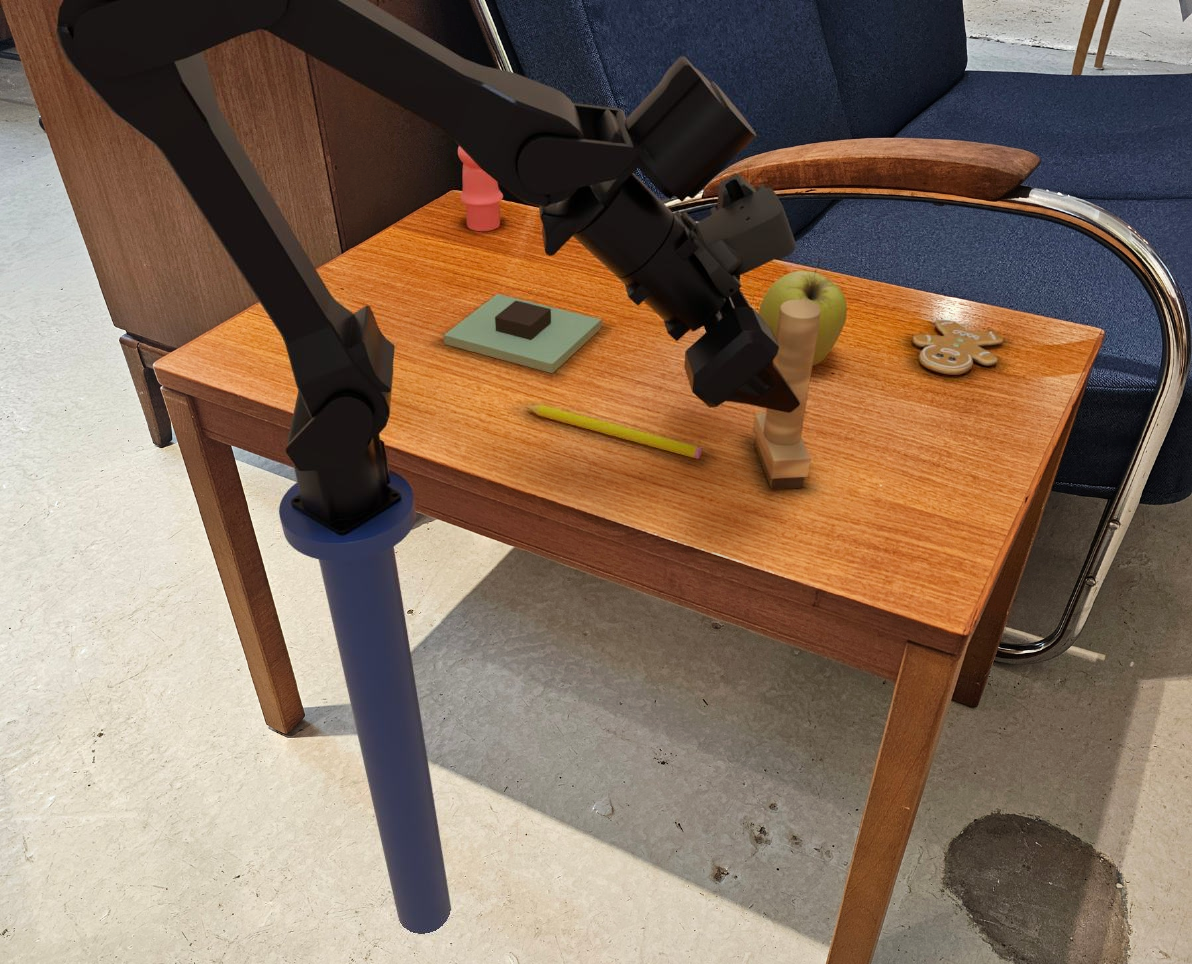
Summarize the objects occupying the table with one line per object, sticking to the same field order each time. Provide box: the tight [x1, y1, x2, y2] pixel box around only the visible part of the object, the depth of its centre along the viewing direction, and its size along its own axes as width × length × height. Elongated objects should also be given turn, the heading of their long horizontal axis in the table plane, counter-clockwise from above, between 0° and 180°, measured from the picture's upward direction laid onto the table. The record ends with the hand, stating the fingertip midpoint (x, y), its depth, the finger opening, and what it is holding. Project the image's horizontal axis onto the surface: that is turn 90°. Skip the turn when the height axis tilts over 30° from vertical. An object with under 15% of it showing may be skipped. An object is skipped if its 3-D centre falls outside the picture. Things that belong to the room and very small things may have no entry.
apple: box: [758, 260, 848, 367], centre depth 97 cm, size 8×8×10 cm
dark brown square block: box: [495, 301, 551, 340], centre depth 102 cm, size 4×4×2 cm
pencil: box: [525, 404, 703, 460], centre depth 90 cm, size 16×1×1 cm, turn 64°
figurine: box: [457, 145, 504, 232], centre depth 118 cm, size 5×5×15 cm
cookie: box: [912, 319, 1005, 376], centre depth 101 cm, size 8×1×10 cm
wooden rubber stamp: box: [752, 300, 821, 490], centre depth 82 cm, size 3×7×14 cm, turn 6°
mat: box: [443, 293, 603, 374], centre depth 103 cm, size 10×12×1 cm
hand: (780, 376), depth 81 cm, fingers open, 9 cm apart
